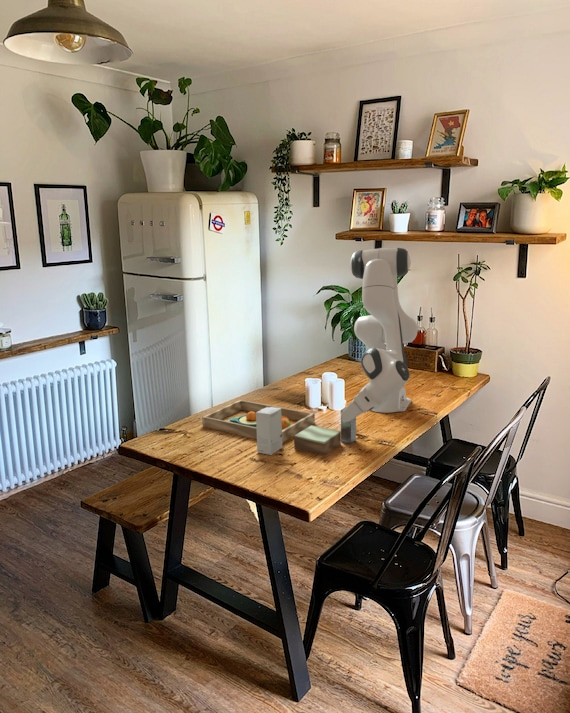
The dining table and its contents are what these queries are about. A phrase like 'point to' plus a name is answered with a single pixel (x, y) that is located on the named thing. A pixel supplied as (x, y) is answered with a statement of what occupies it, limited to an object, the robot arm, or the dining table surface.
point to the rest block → (317, 440)
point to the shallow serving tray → (216, 423)
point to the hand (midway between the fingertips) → (346, 418)
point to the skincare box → (269, 430)
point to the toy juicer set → (251, 420)
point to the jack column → (348, 430)
